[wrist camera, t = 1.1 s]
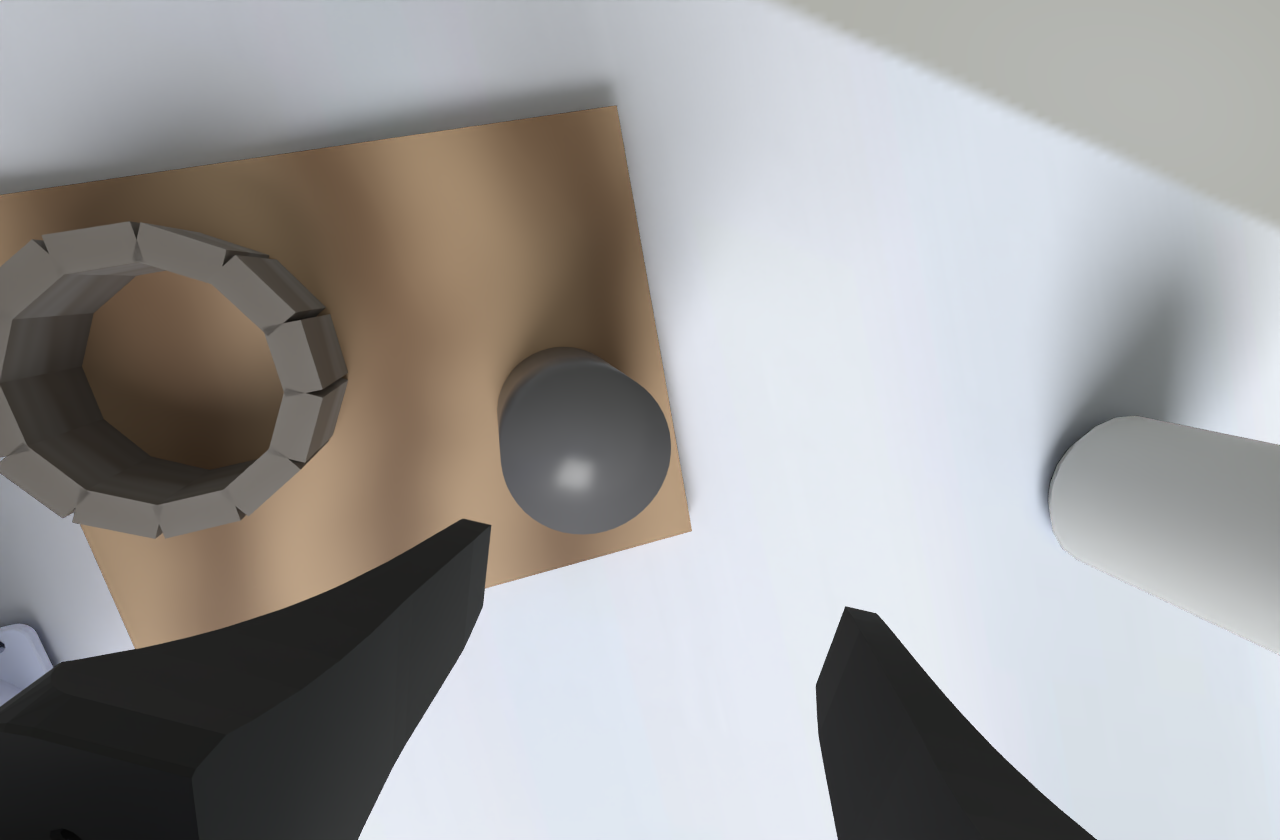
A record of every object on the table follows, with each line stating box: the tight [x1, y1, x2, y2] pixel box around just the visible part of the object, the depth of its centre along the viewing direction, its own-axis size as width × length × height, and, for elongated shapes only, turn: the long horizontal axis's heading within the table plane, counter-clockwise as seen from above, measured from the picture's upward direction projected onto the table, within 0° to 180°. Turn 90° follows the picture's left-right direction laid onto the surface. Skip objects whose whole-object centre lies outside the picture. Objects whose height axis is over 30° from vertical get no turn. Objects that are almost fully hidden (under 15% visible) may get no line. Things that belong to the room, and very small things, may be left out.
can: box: [1048, 416, 1280, 655], centre depth 26 cm, size 8×8×12 cm
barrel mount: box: [0, 105, 692, 649], centre depth 21 cm, size 20×16×4 cm
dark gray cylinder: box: [497, 347, 671, 535], centre depth 21 cm, size 5×5×6 cm
